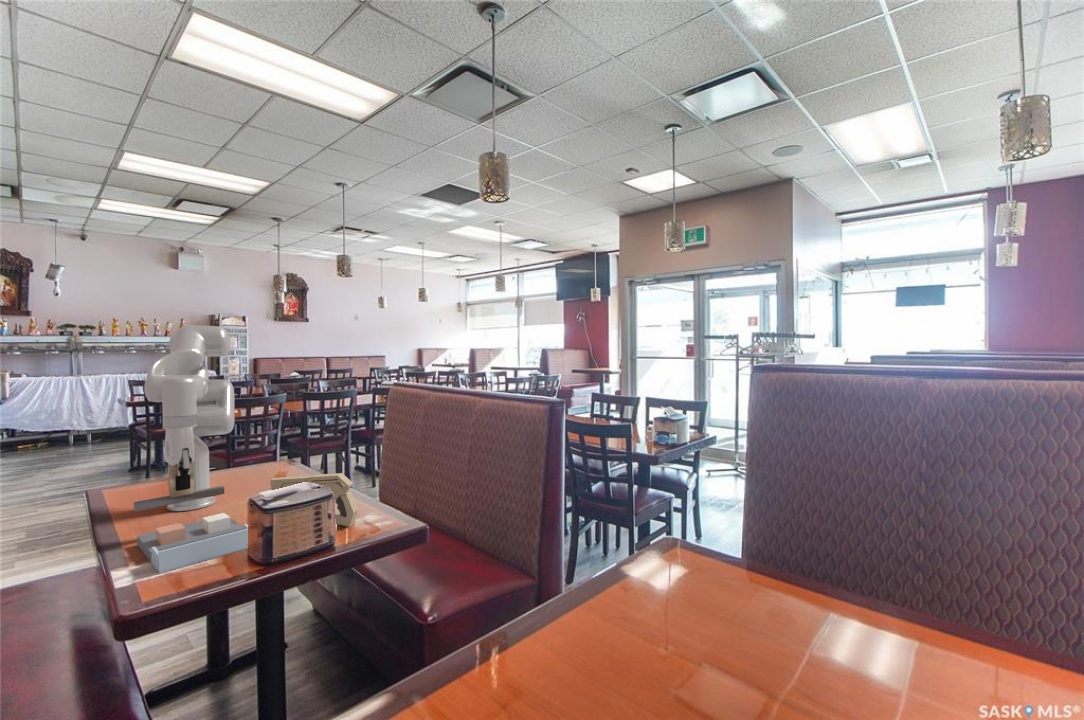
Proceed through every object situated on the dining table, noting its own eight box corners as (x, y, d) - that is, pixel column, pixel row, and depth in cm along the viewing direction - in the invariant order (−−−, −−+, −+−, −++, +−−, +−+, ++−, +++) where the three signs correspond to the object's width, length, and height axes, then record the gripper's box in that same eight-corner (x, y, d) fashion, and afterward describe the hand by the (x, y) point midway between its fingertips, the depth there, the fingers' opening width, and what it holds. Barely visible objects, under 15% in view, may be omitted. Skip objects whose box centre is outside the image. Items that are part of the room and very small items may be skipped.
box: (151, 563, 115) (150, 542, 115) (245, 538, 130) (245, 519, 130) (159, 573, 110) (159, 552, 109) (256, 546, 125) (256, 527, 125)
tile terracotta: (155, 540, 122) (155, 528, 122) (180, 534, 126) (179, 522, 126) (160, 545, 119) (160, 533, 119) (185, 539, 123) (185, 527, 123)
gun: (359, 522, 141) (355, 472, 141) (354, 527, 138) (349, 475, 138) (281, 526, 144) (276, 476, 143) (274, 531, 140) (269, 479, 140)
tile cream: (202, 528, 130) (202, 517, 130) (224, 523, 134) (224, 512, 133) (208, 533, 127) (208, 522, 126) (230, 528, 130) (230, 517, 130)
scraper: (133, 509, 127) (132, 467, 127) (221, 492, 142) (221, 454, 142) (135, 511, 125) (134, 469, 125) (224, 494, 140) (224, 456, 140)
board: (137, 545, 125) (137, 535, 125) (226, 523, 140) (226, 515, 140) (150, 562, 115) (150, 552, 115) (244, 537, 130) (244, 528, 130)
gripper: (156, 420, 136) (157, 485, 136) (170, 426, 125) (171, 497, 125) (188, 417, 141) (189, 480, 142) (205, 423, 130) (206, 491, 131)
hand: (181, 487), depth 133 cm, fingers closed on scraper, 3 cm apart
